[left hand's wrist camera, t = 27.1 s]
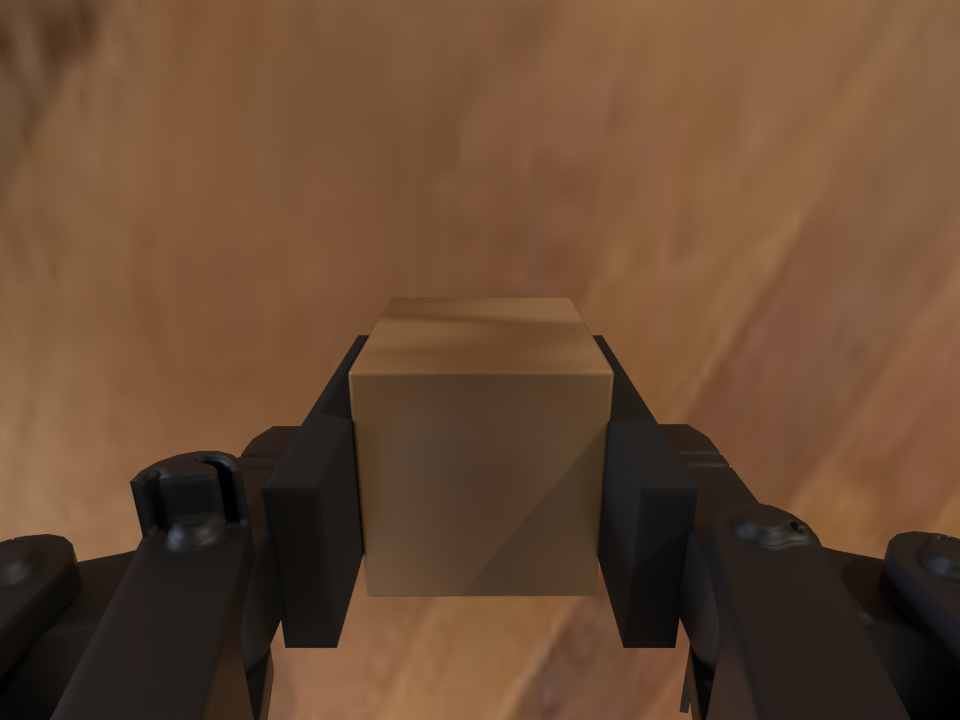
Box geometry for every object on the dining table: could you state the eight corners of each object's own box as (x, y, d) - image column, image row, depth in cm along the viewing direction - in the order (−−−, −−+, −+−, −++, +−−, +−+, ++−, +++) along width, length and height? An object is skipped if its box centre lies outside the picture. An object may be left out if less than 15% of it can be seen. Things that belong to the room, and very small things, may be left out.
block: (399, 465, 15) (365, 599, 11) (390, 296, 14) (346, 370, 9) (562, 465, 15) (596, 598, 11) (571, 296, 14) (615, 370, 9)
